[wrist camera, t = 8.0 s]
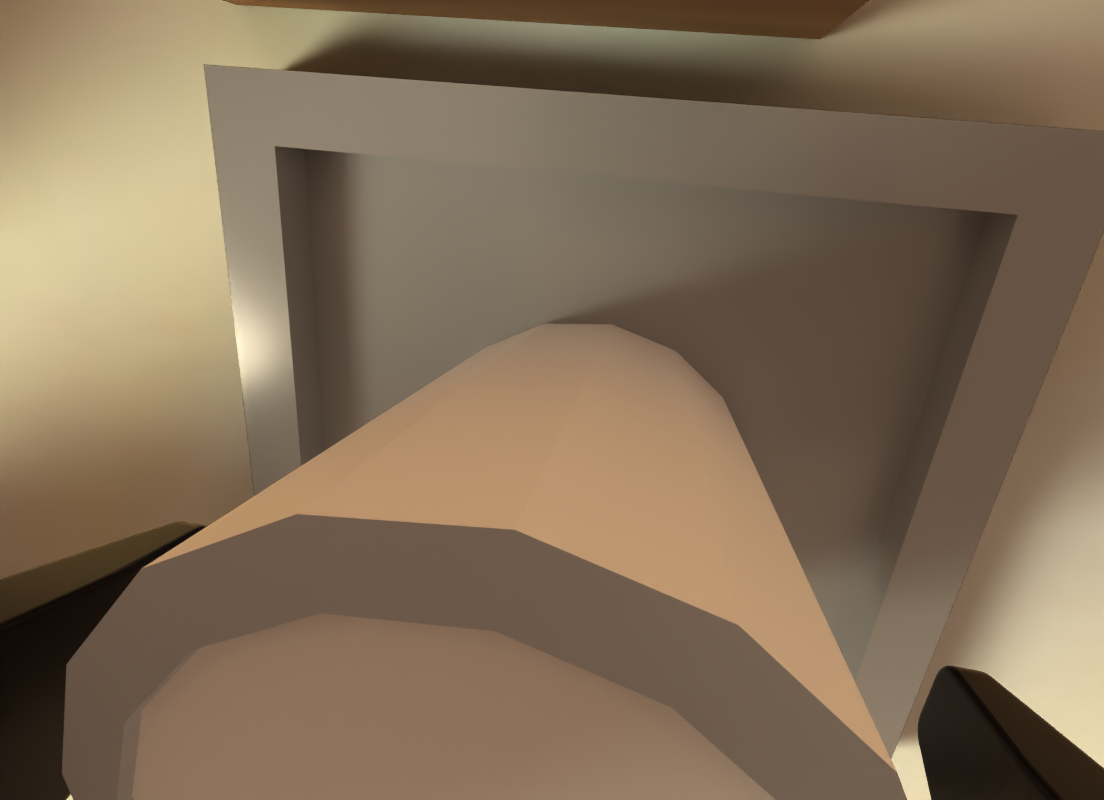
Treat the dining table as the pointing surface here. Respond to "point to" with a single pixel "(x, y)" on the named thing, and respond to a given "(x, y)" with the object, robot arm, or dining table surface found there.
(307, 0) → the wooden pieces
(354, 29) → the dining table surface
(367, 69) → the dining table surface
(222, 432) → the dining table surface
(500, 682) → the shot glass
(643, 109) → the tray
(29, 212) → the dining table surface
